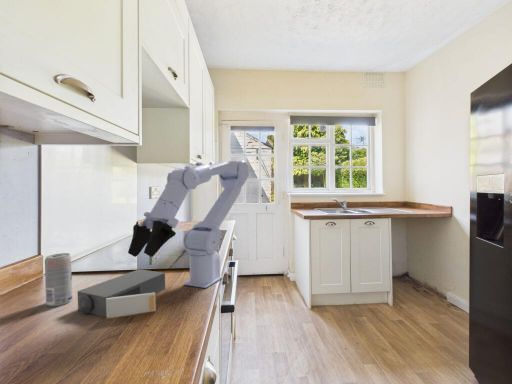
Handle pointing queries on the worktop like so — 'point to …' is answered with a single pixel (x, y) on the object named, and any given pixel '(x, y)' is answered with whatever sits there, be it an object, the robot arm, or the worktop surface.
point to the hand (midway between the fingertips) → (139, 254)
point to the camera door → (130, 304)
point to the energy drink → (58, 279)
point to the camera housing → (119, 290)
